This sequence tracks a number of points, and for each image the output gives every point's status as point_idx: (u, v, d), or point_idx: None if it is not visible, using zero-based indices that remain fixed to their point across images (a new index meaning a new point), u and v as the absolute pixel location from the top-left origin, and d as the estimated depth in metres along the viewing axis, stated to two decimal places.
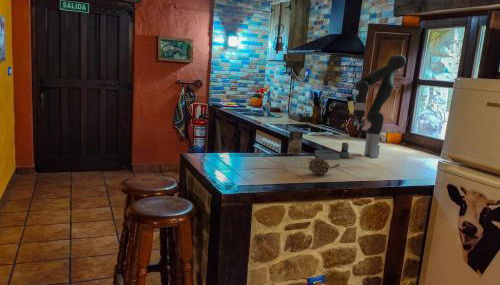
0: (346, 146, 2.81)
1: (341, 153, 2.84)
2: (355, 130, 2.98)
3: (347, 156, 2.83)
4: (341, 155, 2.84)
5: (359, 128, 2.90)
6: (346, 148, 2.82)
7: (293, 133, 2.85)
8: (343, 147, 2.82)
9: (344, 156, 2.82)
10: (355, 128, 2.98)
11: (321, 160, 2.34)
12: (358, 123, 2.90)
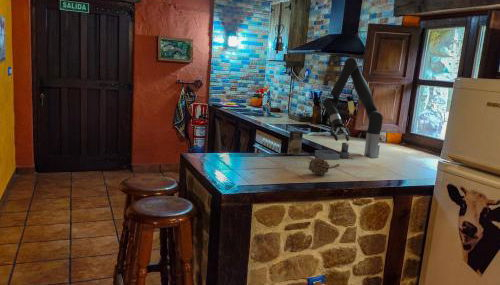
0: (346, 146, 2.81)
1: (341, 153, 2.84)
2: (347, 139, 2.88)
3: (347, 156, 2.83)
4: (341, 155, 2.84)
5: None
6: (346, 148, 2.82)
7: (293, 133, 2.85)
8: (343, 147, 2.82)
9: (344, 156, 2.82)
10: (346, 137, 2.89)
11: (321, 160, 2.34)
12: None
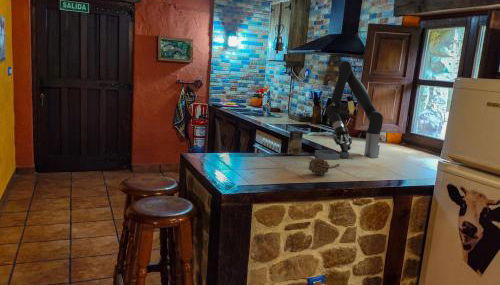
0: (346, 146, 2.81)
1: (341, 153, 2.84)
2: (348, 148, 2.83)
3: (347, 156, 2.83)
4: (341, 155, 2.84)
5: None
6: (346, 148, 2.82)
7: (293, 133, 2.85)
8: None
9: (344, 156, 2.82)
10: None
11: (321, 160, 2.34)
12: None
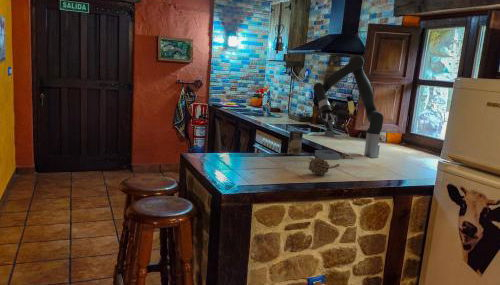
0: (331, 124, 2.75)
1: (326, 132, 2.77)
2: None
3: (332, 135, 2.77)
4: (326, 134, 2.77)
5: None
6: (331, 126, 2.75)
7: (293, 133, 2.85)
8: None
9: (329, 135, 2.76)
10: None
11: (321, 160, 2.34)
12: None
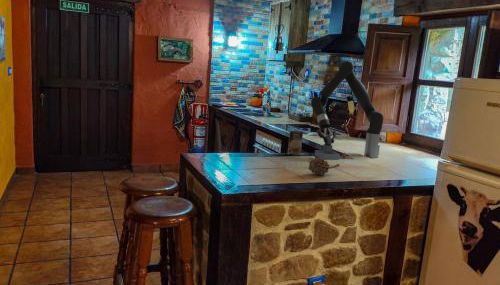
0: (329, 139, 2.77)
1: (324, 146, 2.79)
2: (332, 141, 2.78)
3: (330, 149, 2.78)
4: (324, 148, 2.79)
5: None
6: (329, 141, 2.77)
7: (293, 133, 2.85)
8: None
9: (327, 149, 2.78)
10: None
11: (321, 160, 2.34)
12: None
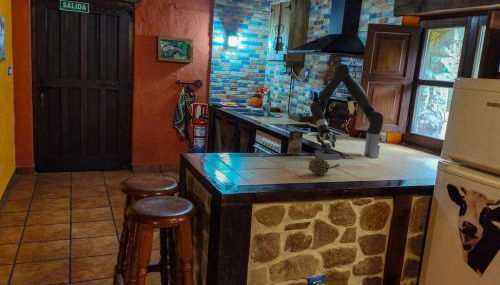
0: (329, 146, 2.78)
1: None
2: (333, 146, 2.80)
3: None
4: None
5: (322, 144, 2.79)
6: (329, 148, 2.78)
7: (293, 133, 2.85)
8: (326, 147, 2.78)
9: None
10: (332, 144, 2.80)
11: (321, 160, 2.34)
12: (321, 140, 2.82)
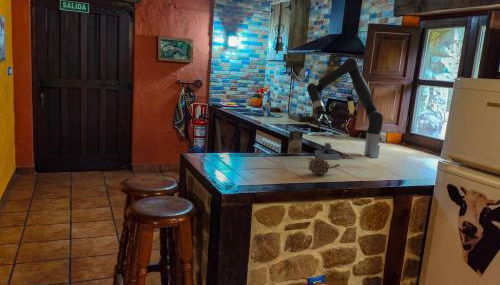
0: (329, 146, 2.78)
1: None
2: (329, 126, 2.90)
3: None
4: None
5: None
6: (329, 148, 2.78)
7: (293, 133, 2.85)
8: (326, 147, 2.78)
9: None
10: (328, 125, 2.91)
11: (321, 160, 2.34)
12: None
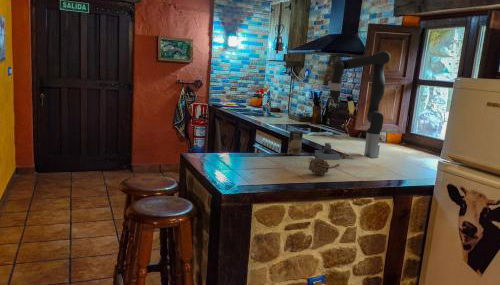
0: (329, 146, 2.78)
1: None
2: (330, 110, 3.00)
3: None
4: None
5: (335, 109, 2.91)
6: (329, 148, 2.78)
7: (293, 133, 2.85)
8: (326, 147, 2.78)
9: None
10: (330, 108, 2.99)
11: (321, 160, 2.34)
12: (334, 104, 2.91)
